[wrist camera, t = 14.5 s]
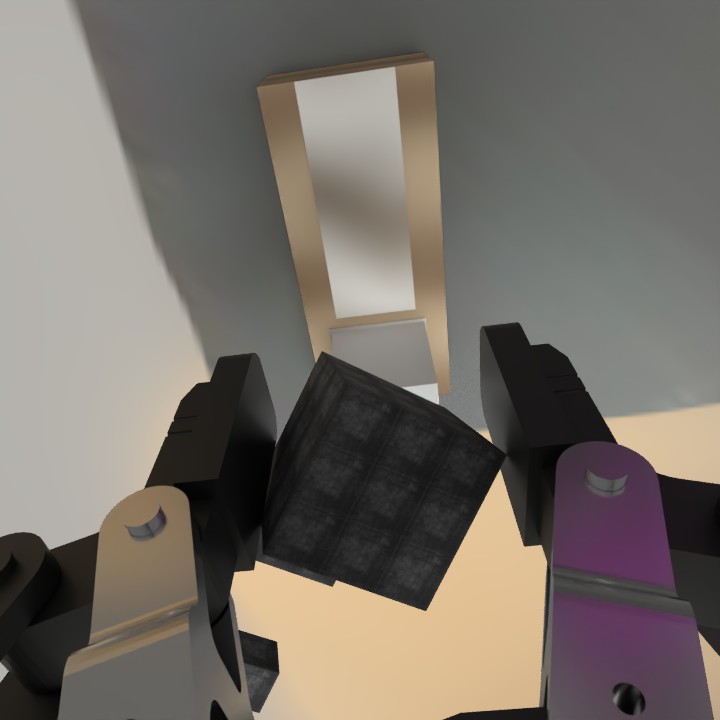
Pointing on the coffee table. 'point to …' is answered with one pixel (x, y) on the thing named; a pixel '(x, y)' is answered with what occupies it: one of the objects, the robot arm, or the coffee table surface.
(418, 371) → the grey block
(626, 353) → the coffee table surface
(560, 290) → the coffee table surface
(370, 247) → the frame
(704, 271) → the coffee table surface
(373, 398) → the building blocks
